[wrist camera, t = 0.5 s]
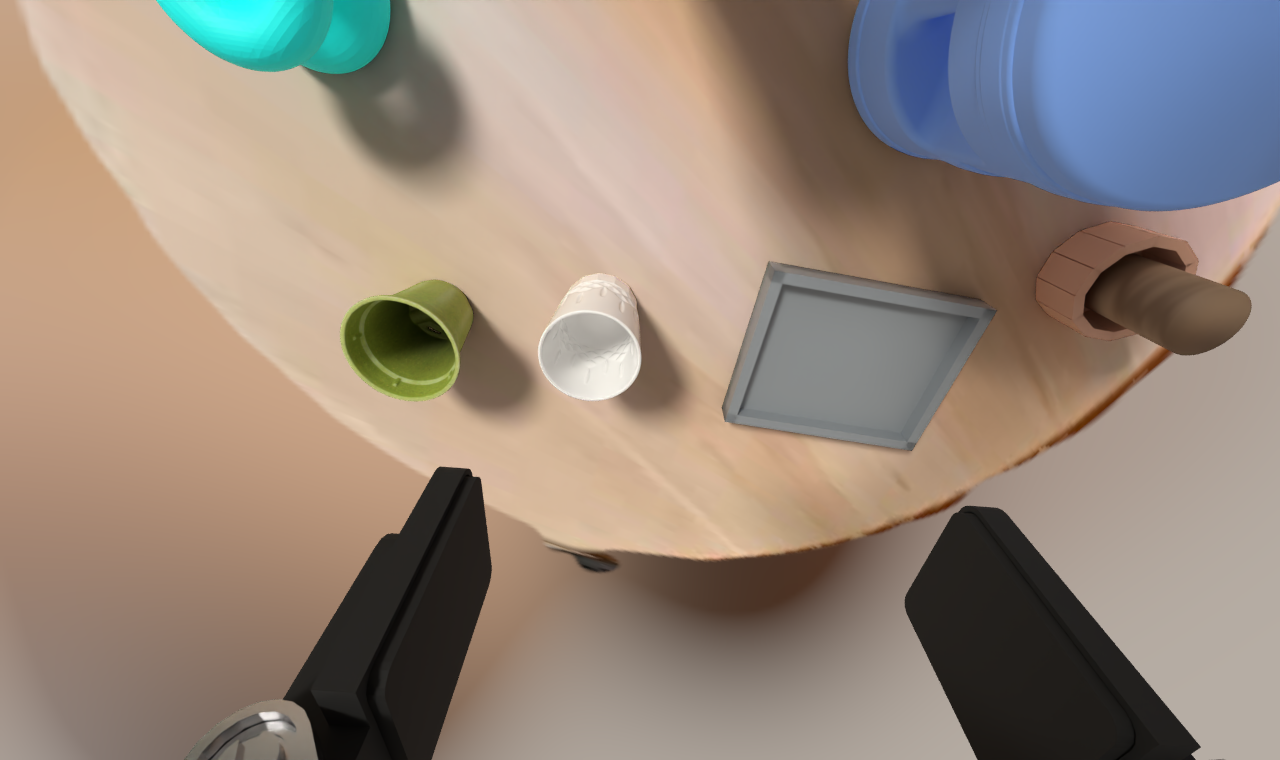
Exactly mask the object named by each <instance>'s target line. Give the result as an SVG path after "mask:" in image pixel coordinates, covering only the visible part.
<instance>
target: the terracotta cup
mask: <svg viewBox="0 0 1280 760" xmlns="http://www.w3.org/2000/svg"><path fill="white" fill-rule="evenodd" d="M1131 253H1134V254H1137V255H1140V256H1142V257H1145V258H1148V259H1151V260H1154V261H1157V262H1160V263H1162V264H1165V265H1168V266H1171V267H1174V268H1177V269H1179V270H1182V271H1185V272H1188V273H1191V274H1194V275H1196V270H1197V266H1198V262H1199V261H1198V258H1197V257H1196V255H1195V254H1194V252H1193V250H1192V249H1191V247H1190V246H1189V244H1188V242H1187V241H1184V240H1181V239H1178V238H1174V237H1171V236H1167V235H1164V234H1161V233H1157V232H1154V231H1150V230H1147V229H1144V228H1140V227H1137V226H1132V225H1127V224H1122V223H1117V222H1112V221H1111V222H1107V223H1103V224H1100V225H1097V226H1094V227H1090V228H1087V229H1084V230H1081V231H1079V232H1078V233H1076V234H1075V235H1074V236H1072V237H1071V238H1070V239H1068V240H1067V241H1066V242H1064V243H1063V244H1062V245H1061V246H1059V247H1058V248H1057V249H1055V250H1054V252H1052V253H1051V255H1050V256H1049V258H1048V260H1047V261H1046V263H1045V264H1044V266H1043V268H1042V269H1041V271H1040V272H1039V274H1038V277H1037V281H1036V298H1035V299H1036V301H1037V302H1038V304H1039V305H1040V306H1041V307H1042V308H1043V310H1044V311H1045V312H1046V313H1047V314H1048V315H1049V316H1051V317H1053V318H1054V319H1056V320H1058V321H1060V322H1061V323H1063V324H1065V325H1066V326H1068V327H1070V328H1072V329H1073V330H1075V331H1077V332H1078V333H1080V334H1082V335H1084V336H1085V337H1090V338H1096V339H1101V340H1107V341H1112V340H1116V339H1120V338H1123V337H1127V336H1131V335H1135V334H1137V333H1135V332H1133V331H1131V330H1129V329H1127V328H1125V327H1123V326H1121V325H1119V324H1117V323H1115V322H1113V321H1111V320H1109V319H1108V318H1106V317H1104V316H1102V315H1100V314H1098V313H1096V312H1094V311H1092V310H1090V309H1088V308H1086V307H1084V302H1085V295H1086V293H1087V292H1088V290H1089V289H1090V288H1091V286H1092V285H1093V283H1094V282H1095V280H1096V279H1097V278H1098V276H1099V275H1100V273H1101V272H1103V271H1104V270H1105V269H1107V268H1108V267H1110V266H1111V265H1112V264H1114V263H1115V262H1117V261H1118V260H1119V259H1121V258H1122V257H1124V256H1125V255H1127V254H1131Z"/></svg>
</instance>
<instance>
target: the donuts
mask: <svg viewBox="0 0 1280 760" xmlns="http://www.w3.org/2000/svg"><path fill="white" fill-rule="evenodd" d="M156 1H157V2H158V3H159V5H160V6H161V7H162V9H163V10H164V11H165V12H166V13H167V15H168V16H169V17H170V18H171V19H172V20H173V21H174V22H175V23H176V24H177V25H178V26H179V27H180V28H181V29H182V30H183V31H184V32H185V33H186V34H187V35H188V36H189V37H191V38H192V39H193V40H194V41H195V42H197V43H198V44H199V45H201V46H202V47H203V48H205V49H206V50H208V51H209V52H211V53H212V54H214V55H216V56H218V57H219V58H221V59H223V60H225V61H228V62H230V63H232V64H235V65H237V66H240V67H243V68H247V69H251V70H256V71H265V72H278V71H284V70H288V69H292V68H294V67H297V66H299V65H302V66H304V67H307V68H309V69H312V70H315V71H318V72H322V73H329V74H343V73H349V72H353V71H356V70H358V69H360V68H362V67H364V66H365V65H367V64H368V63H369V62H371V61H372V60H373V59H374V58H375V57H376V55H377V54H378V53H379V51H380V50H381V48H382V46H383V44H384V42H385V40H386V37H387V33H388V29H389V24H390V0H156Z"/></svg>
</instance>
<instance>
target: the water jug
mask: <svg viewBox="0 0 1280 760" xmlns="http://www.w3.org/2000/svg"><path fill="white" fill-rule="evenodd" d="M848 75H849V83H850V88H851V93H852V96H853V100H854V103H855V105H856V108H857V110H858V112H859V114H860V116H861V118H862V119H863V121H864V123H865V124H866V125H867V127H868V128H869V129H870V130H871V132H872V133H873V134H874V135H875V136H876V137H878V138H879V139H880V140H881V141H882V142H884V143H885V144H887V145H888V146H890V147H892V148H894V149H895V150H897V151H900V152H902V153H905V154H907V155H911V156H914V157H920V158H924V159H925V158H926V159H936V160H941V161H945V162H947V163H949V164H951V165H953V166H956V167H958V168H961V169H964V170H968V171H972V172H975V173H979V174H983V175H989V176H997V177H1008V178H1012V179H1015V180H1019V181H1023V182H1027V183H1030V184H1032V185H1034V186H1036V187H1038V188H1041V189H1043V190H1045V191H1048V192H1050V193H1053V194H1056V195H1060V196H1063V197H1067V198H1071V199H1074V200H1078V201H1082V202H1086V203H1091V204H1098V205H1104V206H1113V207H1120V208H1125V209H1131V210H1140V211H1173V210H1183V209H1190V208H1197V207H1202V206H1207V205H1211V204H1216V203H1220V202H1223V201H1227V200H1230V199H1234V198H1237V197H1240V196H1243V195H1246V194H1249V193H1252V192H1254V191H1257V190H1259V189H1262V188H1265V187H1267V186H1269V185H1272V184H1274V183H1276V182H1279V181H1280V0H860V1H859V4H858V7H857V10H856V13H855V16H854V20H853V24H852V28H851V33H850V40H849V48H848Z"/></svg>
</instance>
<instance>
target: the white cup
mask: <svg viewBox="0 0 1280 760" xmlns="http://www.w3.org/2000/svg"><path fill="white" fill-rule="evenodd" d="M538 358H539V363H540V366H541V369H542V371H543V373H544V375H545V376H546V378H547V379H548V380H549V382H550V383H551V384H552V385H553V386H554V387H555V388H557V389H558V390H559V391H561V392H562V393H564V394H566V395H568V396H570V397H573V398H576V399H580V400H586V401H601V400H606V399H610V398H613V397H615V396H617V395H619V394H621V393H622V392H624V391H625V390H627V389H628V388H629V387H630V386H631V385H632V383H633V382H634V381H635V379H636V377H637V376H638V373H639V371H640V367H641V341H640V325H639V316H638V312H637V301H636V298H635V296H634V295H633V293H632V291H631V289H630V287H629V286H628V285H627V284H625V283H624V282H623V281H621V280H620V279H619V278H617V277H616V276H612V275H608V274H603V273H596V274H591V275H587V276H583V277H582V278H581V279H579V280H578V281H577V282H576V283H575V284H573V285H572V286H571V287H570V289H569V291H568V293H567V294H566V296H565V297H564V298H563V300H562V301H561V303H560V305H559V306H558V308H557V309H556V311H555V313H554V314H553V316H552V318H551V320H550V322H549V324H548V325H547V327H546V329H545V331H544V333H543V334H542V337H541V339H540V342H539V347H538Z"/></svg>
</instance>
